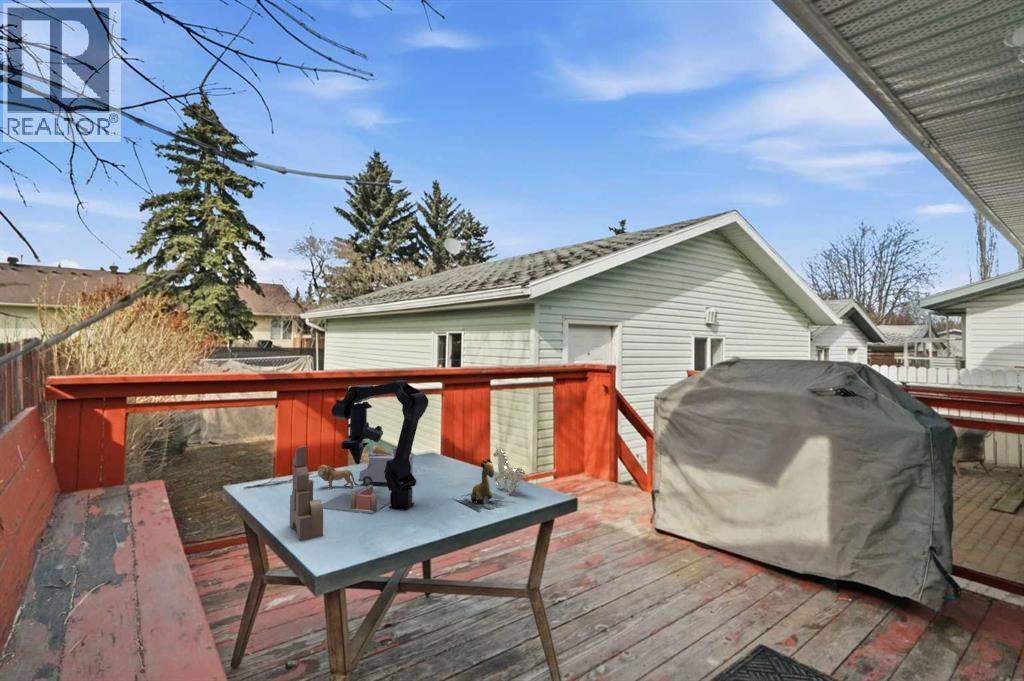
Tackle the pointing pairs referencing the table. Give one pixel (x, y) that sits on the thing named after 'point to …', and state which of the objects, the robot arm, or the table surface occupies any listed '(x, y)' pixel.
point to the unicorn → (507, 471)
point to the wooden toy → (304, 501)
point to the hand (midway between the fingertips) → (357, 464)
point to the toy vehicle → (378, 465)
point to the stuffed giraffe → (484, 491)
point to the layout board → (344, 504)
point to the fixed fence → (363, 501)
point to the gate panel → (366, 490)
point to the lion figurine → (335, 475)
